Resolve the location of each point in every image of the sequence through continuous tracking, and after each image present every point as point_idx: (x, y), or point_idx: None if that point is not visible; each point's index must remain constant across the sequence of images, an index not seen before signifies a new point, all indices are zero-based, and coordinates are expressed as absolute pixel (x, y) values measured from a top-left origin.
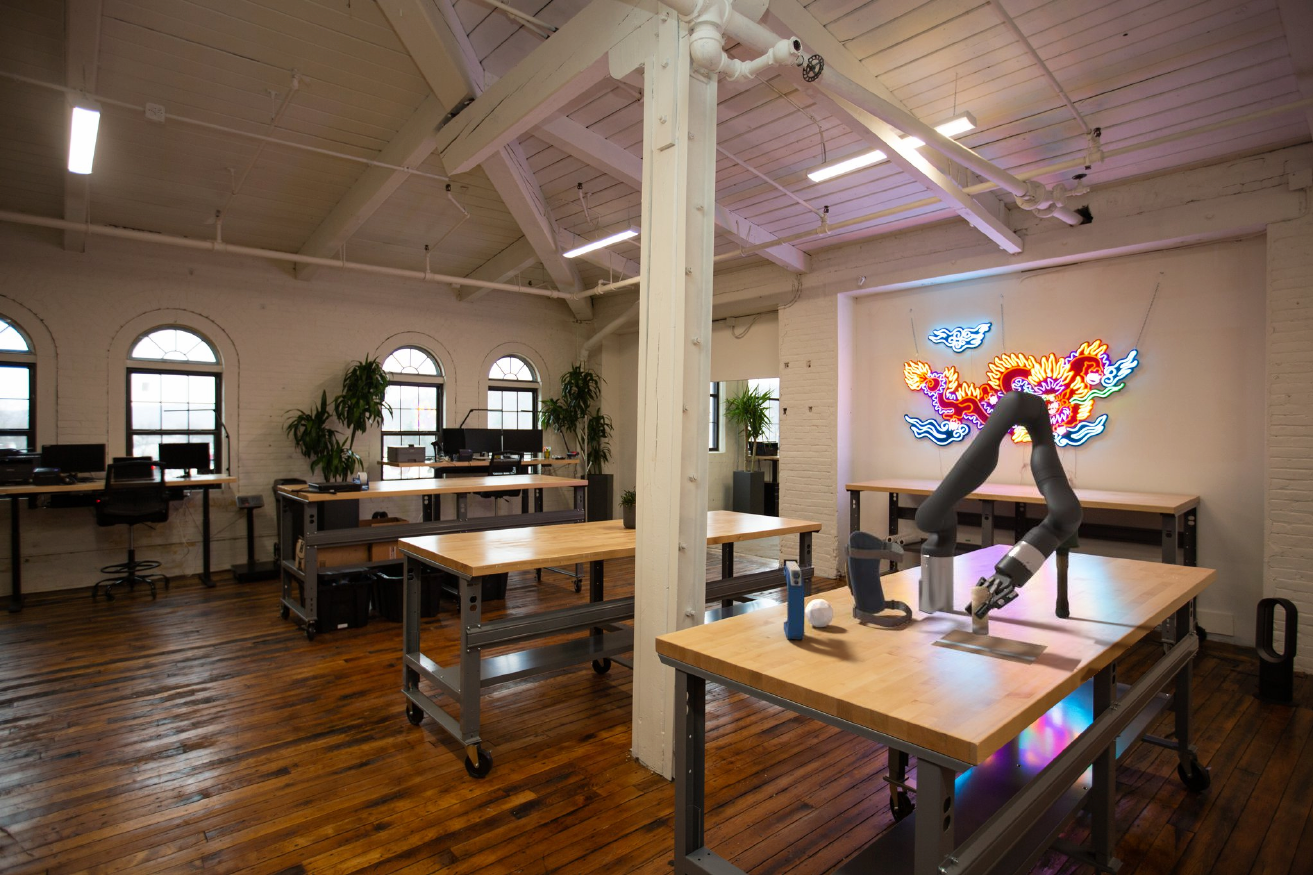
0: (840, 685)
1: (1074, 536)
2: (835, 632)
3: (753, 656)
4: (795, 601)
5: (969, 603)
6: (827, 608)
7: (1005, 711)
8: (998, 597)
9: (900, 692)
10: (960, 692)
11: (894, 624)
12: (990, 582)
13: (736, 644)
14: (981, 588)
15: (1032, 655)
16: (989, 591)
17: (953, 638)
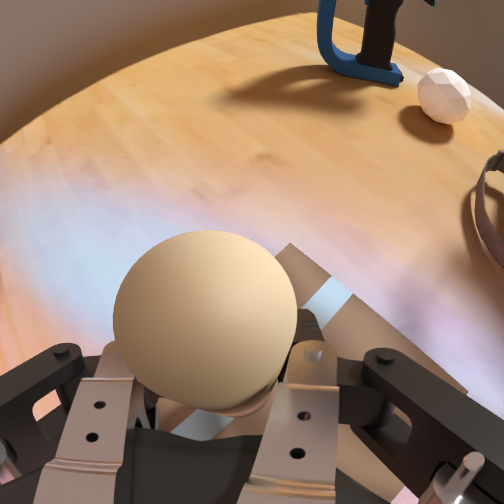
0: (128, 83)
1: None
2: (406, 123)
3: (256, 37)
4: (319, 1)
5: None
6: (434, 85)
7: None
8: (18, 374)
9: (76, 131)
10: (36, 205)
11: (485, 235)
12: (244, 497)
13: (306, 34)
14: (171, 315)
15: None
16: (127, 388)
17: (365, 347)
